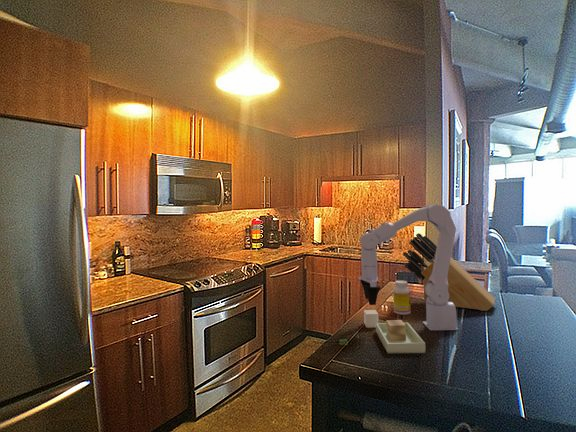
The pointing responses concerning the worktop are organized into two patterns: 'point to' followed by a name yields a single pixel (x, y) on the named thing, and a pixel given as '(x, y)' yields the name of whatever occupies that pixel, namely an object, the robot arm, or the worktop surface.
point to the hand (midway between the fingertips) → (370, 301)
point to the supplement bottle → (401, 298)
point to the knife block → (448, 277)
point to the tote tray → (406, 346)
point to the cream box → (370, 318)
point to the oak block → (396, 330)
